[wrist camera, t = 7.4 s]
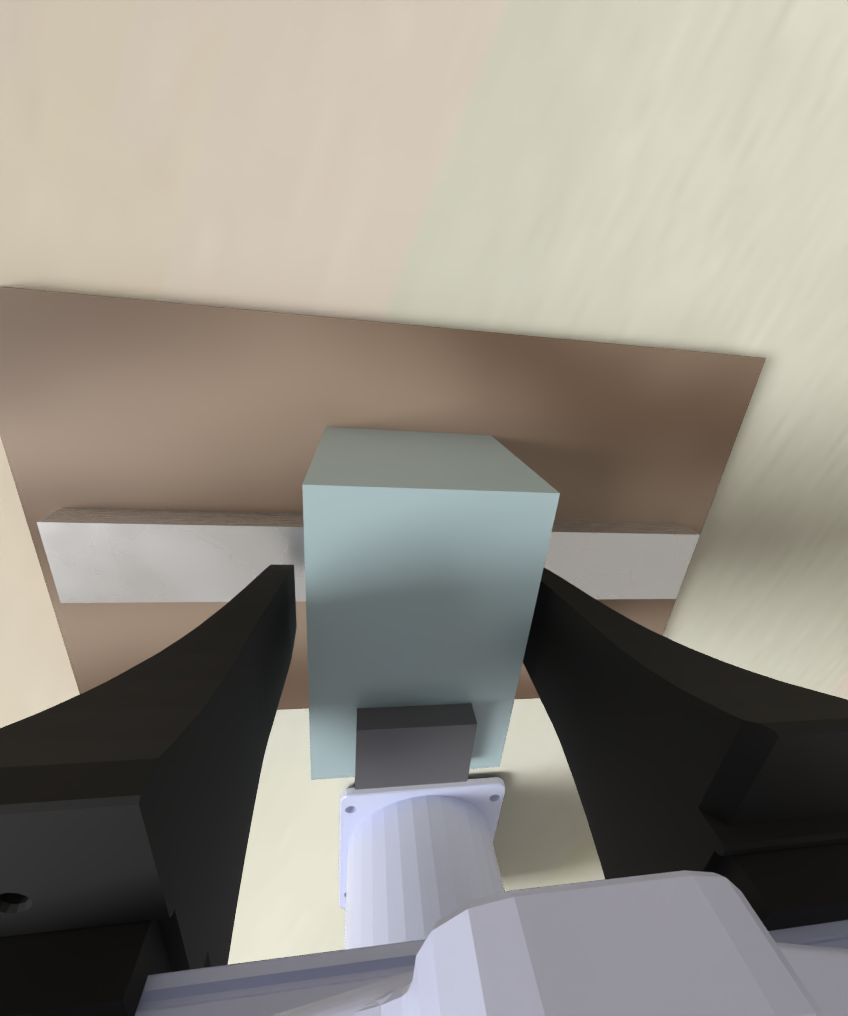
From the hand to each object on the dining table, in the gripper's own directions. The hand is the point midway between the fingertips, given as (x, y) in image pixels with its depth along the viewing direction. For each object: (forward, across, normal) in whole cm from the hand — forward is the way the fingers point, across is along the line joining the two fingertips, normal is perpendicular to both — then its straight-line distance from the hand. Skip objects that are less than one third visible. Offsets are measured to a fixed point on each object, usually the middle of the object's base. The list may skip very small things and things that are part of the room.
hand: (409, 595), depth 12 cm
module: (+3, 0, 0) cm, 3 cm away
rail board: (+4, 0, 0) cm, 4 cm away
